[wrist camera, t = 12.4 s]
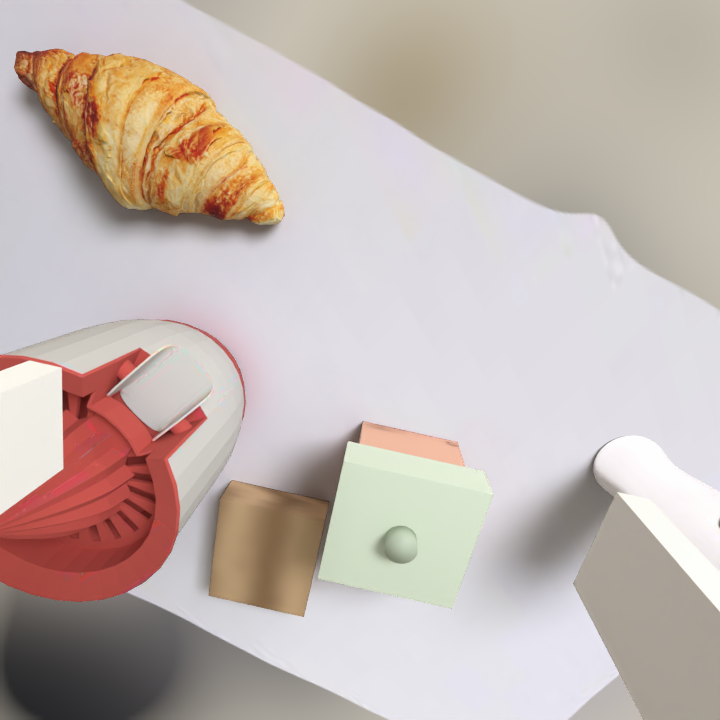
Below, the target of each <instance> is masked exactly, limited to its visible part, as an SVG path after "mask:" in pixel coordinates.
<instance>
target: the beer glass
mask: <svg viewBox="0 0 720 720" xmlns="http://www.w3.org/2000/svg"><path fill="white" fill-rule="evenodd" d="M593 473H594V476H595V479H596V481H597V482H598V483H599V485H600V486H601V487H602V488H603V489H605V490H606V491H607V492H608V493H610V494H611V495H612V496H614V497H615V495H616V492H619V493H624V494H628V495H632V496H637V497H641V498H646V499H650V500H651V502H652V503H653V504H654V505H655V506H656V507H657V508H658V509H659V510H660V511H661V512H662V513H663V514H664V515H665V516H666V517H667V518H668V519H669V520H670V521H671V522H672V523H673V524H674V526H675V527H676V528H677V529H678V530H679V531H680V532H681V533H682V534H683V535H684V536H685V537H686V538H687V539H688V540H689V541H690V542H691V543H692V544H693V545H694V546H695V547H696V548H697V550H698V551H699V552H700V553H701V554H702V555H703V556H704V557H705V558H706V559H707V560H708V561H709V562H710V563H711V564H712V565H713V566H714V567H715V568H716V569H717V570H718V571H719V572H720V491H718V490H716V489H714V488H712V487H711V486H709V485H707V484H705V483H703V482H701V481H700V480H698V479H696V478H694V477H692V476H690V475H689V474H687V473H685V472H683V471H682V470H680V469H679V468H678V467H676V466H675V465H674V464H673V463H672V462H671V461H670V460H669V458H668V457H667V456H666V454H665V453H664V452H663V450H662V449H661V448H660V447H659V446H658V445H657V444H656V443H655V442H653V441H652V440H650V439H648V438H645V437H642V436H635V435H630V436H623V437H620V438H617V439H614V440H612V441H611V442H609V443H607V444H606V445H605V446H604V447H603V448H602V449H601V450H600V451H599V452H598V454H597V456H596V458H595V460H594V464H593Z"/></svg>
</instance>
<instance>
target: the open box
mask: <svg viewBox="0 0 720 720" xmlns="http://www.w3.org/2000/svg"><path fill="white" fill-rule="evenodd" d="M358 443H359V444H364V445H368V446H373V447H377V448H382V449H386V450H391V451H395V452H400V453H404V454H409V455H413V456H418V457H422V458H427V459H431V460H436V461H440V462H445V463H449V464H454V465H458V466H463V467H465V465H464V461H463V458H462V455H461V452H460V449H459V445H458V442H454V441H450V440H445V439H441V438H436V437H432V436H427V435H423V434H418V433H414V432H409V431H405V430H400V429H396V428H391V427H387V426H382V425H377V424H373V423H368V422H364V421H363V424H362V428H361V433H360V437H359V441H358Z"/></svg>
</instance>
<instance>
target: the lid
mask: <svg viewBox="0 0 720 720" xmlns="http://www.w3.org/2000/svg"><path fill="white" fill-rule="evenodd" d="M492 497H493V492H492V489H491V487H490V484H489V482H488V479H487V476H486V474H485V471H481V470H476V469H472V468H467V467H463V466H458V465H454V464H449V463H445V462H440V461H436V460H431V459H427V458H422V457H418V456H413V455H409V454H404V453H400V452H395V451H391V450H386V449H382V448H377V447H373V446H368V445H364V444H359V443H355V442H350V441H348V443H347V447H346V452H345V456H344V461H343V465H342V470H341V474H340V479H339V483H338V488H337V492H336V497H335V501H334V506H333V510H332V515H331V519H330V524H329V528H328V533H327V537H326V542H325V546H324V551H323V555H322V560H321V565H320V570H319V574H318V579H321V580H325V581H330V582H334V583H339V584H343V585H348V586H352V587H357V588H361V589H366V590H370V591H375V592H379V593H384V594H388V595H392V596H397V597H401V598H406V599H410V600H415V601H419V602H424V603H428V604H433V605H437V606H442V607H446V608H451V609H452V607H453V605H454V602H455V599H456V596H457V594H458V591H459V588H460V585H461V583H462V580H463V577H464V574H465V571H466V569H467V566H468V563H469V560H470V558H471V555H472V552H473V549H474V547H475V544H476V541H477V538H478V536H479V533H480V530H481V527H482V525H483V522H484V519H485V516H486V514H487V511H488V508H489V505H490V503H491V500H492Z"/></svg>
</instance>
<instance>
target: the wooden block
mask: <svg viewBox="0 0 720 720" xmlns="http://www.w3.org/2000/svg"><path fill="white" fill-rule="evenodd" d="M328 505H329V502H327V501H323V500H318V499H314V498H309V497H305V496H300V495H296V494H291V493H287V492H282V491H278V490H274V489H269V488H265V487H260V486H256V485H251V484H247V483H242V482H238V481H233V480H232V481H231V482H230V484H229V486H228V487H227V489H226V490H225V492H224V493H223V495H222V497H221V498H220V504H219V513H218V521H217V529H216V538H215V546H214V554H213V563H212V571H211V579H210V588H209V596H213V597H217V598H222V599H226V600H231V601H235V602H239V603H244V604H248V605H253V606H257V607H262V608H266V609H271V610H275V611H280V612H284V613H289V614H293V615H297V616H302V617H304V614H305V609H306V605H307V601H308V596H309V592H310V587H311V583H312V578H313V573H314V569H315V564H316V560H317V555H318V550H319V546H320V541H321V537H322V532H323V527H324V523H325V518H326V514H327V509H328Z"/></svg>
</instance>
